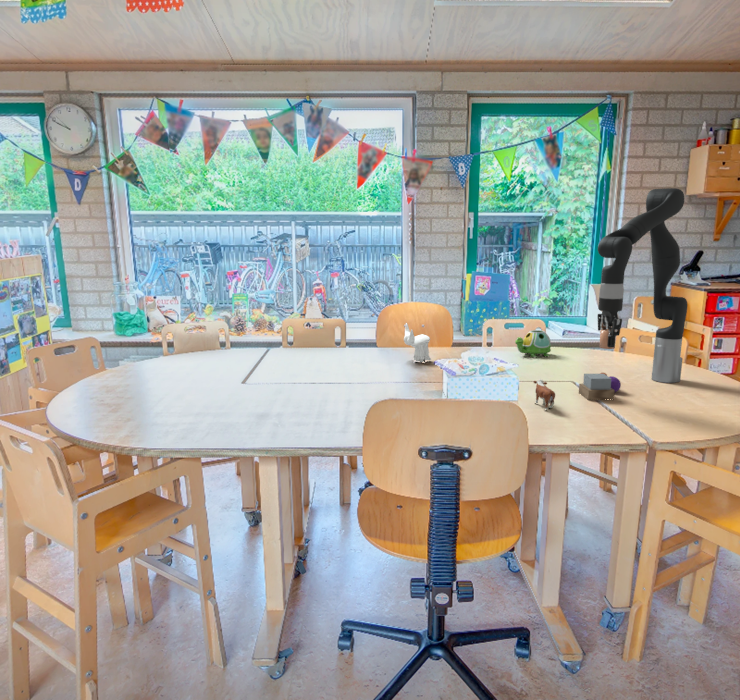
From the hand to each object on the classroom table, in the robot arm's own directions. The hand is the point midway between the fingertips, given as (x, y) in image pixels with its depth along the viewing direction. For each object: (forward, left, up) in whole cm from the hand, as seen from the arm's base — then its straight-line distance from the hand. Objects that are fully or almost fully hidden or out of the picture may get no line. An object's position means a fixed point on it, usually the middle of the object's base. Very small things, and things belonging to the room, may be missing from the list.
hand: (607, 345), depth 189 cm
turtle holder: (+4, -72, -20) cm, 75 cm away
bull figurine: (+24, +8, -20) cm, 32 cm away
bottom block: (+1, -3, -20) cm, 20 cm away
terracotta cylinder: (0, 0, -1) cm, 1 cm away
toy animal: (+61, -62, -20) cm, 89 cm away
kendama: (-8, -16, -20) cm, 27 cm away
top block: (+1, -3, -16) cm, 16 cm away
